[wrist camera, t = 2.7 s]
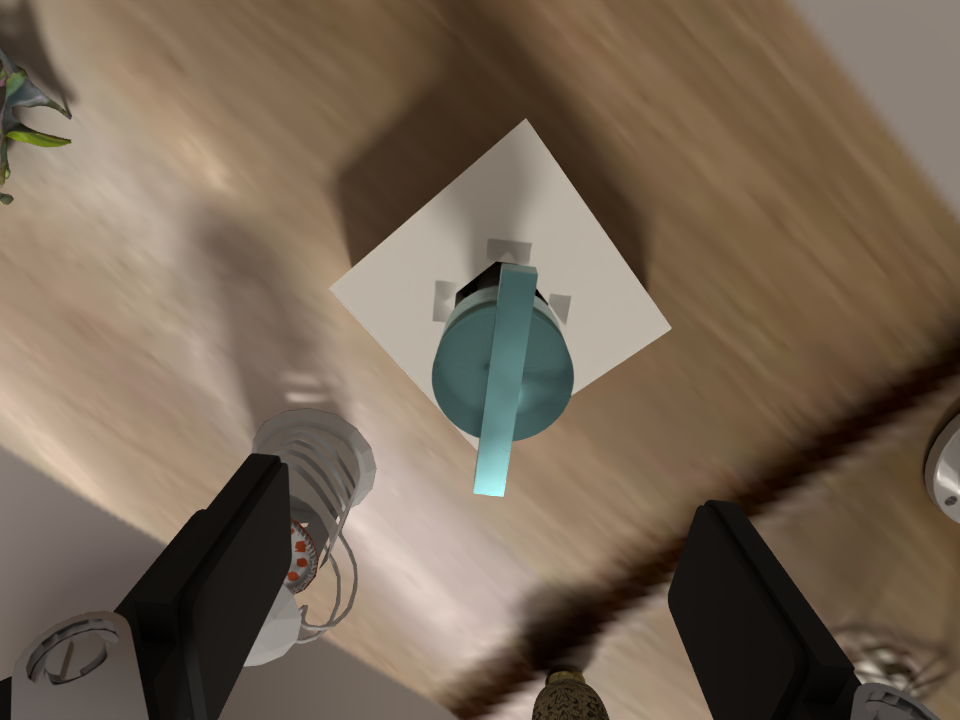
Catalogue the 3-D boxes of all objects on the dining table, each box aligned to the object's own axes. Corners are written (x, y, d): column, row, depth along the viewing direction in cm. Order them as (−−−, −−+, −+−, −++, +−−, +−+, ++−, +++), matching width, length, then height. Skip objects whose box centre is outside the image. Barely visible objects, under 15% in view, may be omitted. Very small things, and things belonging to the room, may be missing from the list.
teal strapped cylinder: (466, 213, 32) (437, 262, 16) (552, 223, 32) (602, 281, 17) (453, 345, 35) (419, 487, 20) (531, 354, 35) (556, 502, 20)
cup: (517, 652, 46) (521, 747, 39) (597, 642, 45) (617, 737, 38) (532, 706, 49) (539, 804, 41) (608, 697, 48) (629, 795, 40)
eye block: (521, 124, 30) (525, 118, 25) (647, 305, 33) (671, 328, 29) (352, 270, 33) (328, 288, 28) (483, 418, 37) (481, 455, 32)
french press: (307, 383, 36) (-28, 778, 13) (418, 485, 39) (305, 951, 16) (225, 458, 39) (-174, 896, 16) (335, 548, 42) (135, 1026, 19)
